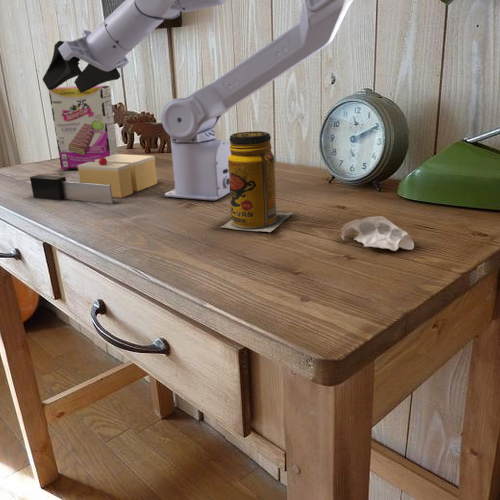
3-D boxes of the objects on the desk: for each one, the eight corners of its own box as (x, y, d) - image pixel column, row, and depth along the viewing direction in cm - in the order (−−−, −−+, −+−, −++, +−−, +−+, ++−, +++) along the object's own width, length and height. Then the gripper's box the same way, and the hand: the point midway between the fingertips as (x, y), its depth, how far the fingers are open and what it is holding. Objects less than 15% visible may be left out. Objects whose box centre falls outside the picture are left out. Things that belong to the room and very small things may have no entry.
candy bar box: (60, 170, 112) (46, 88, 106) (70, 165, 116) (57, 86, 110) (112, 169, 110) (101, 86, 105) (120, 164, 115) (110, 84, 109)
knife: (33, 197, 91) (29, 177, 90) (42, 194, 93) (38, 174, 92) (108, 205, 85) (105, 183, 84) (116, 201, 87) (113, 180, 85)
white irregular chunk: (365, 231, 68) (366, 202, 66) (418, 248, 62) (421, 216, 60) (333, 242, 65) (334, 211, 63) (387, 260, 59) (388, 226, 57)
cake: (157, 183, 97) (154, 155, 96) (137, 191, 92) (133, 162, 91) (119, 180, 101) (116, 153, 99) (98, 188, 96) (94, 160, 94)
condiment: (219, 228, 72) (213, 137, 67) (246, 210, 79) (242, 127, 74) (270, 233, 69) (267, 138, 64) (293, 215, 76) (292, 128, 72)
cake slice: (133, 193, 91) (128, 156, 89) (121, 197, 89) (117, 160, 87) (93, 189, 95) (88, 154, 93) (81, 194, 92) (76, 158, 90)
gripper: (132, 20, 90) (79, 68, 96) (74, 3, 77) (17, 60, 83) (153, 56, 90) (99, 103, 96) (99, 45, 77) (41, 100, 83)
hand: (63, 86), depth 90 cm, fingers open, 7 cm apart
